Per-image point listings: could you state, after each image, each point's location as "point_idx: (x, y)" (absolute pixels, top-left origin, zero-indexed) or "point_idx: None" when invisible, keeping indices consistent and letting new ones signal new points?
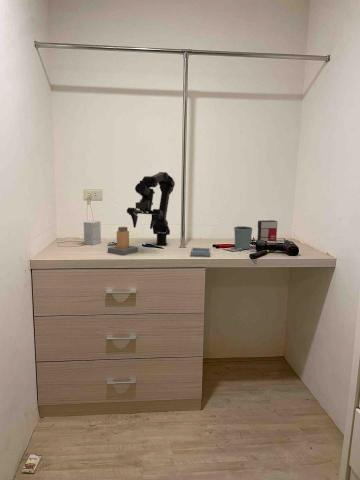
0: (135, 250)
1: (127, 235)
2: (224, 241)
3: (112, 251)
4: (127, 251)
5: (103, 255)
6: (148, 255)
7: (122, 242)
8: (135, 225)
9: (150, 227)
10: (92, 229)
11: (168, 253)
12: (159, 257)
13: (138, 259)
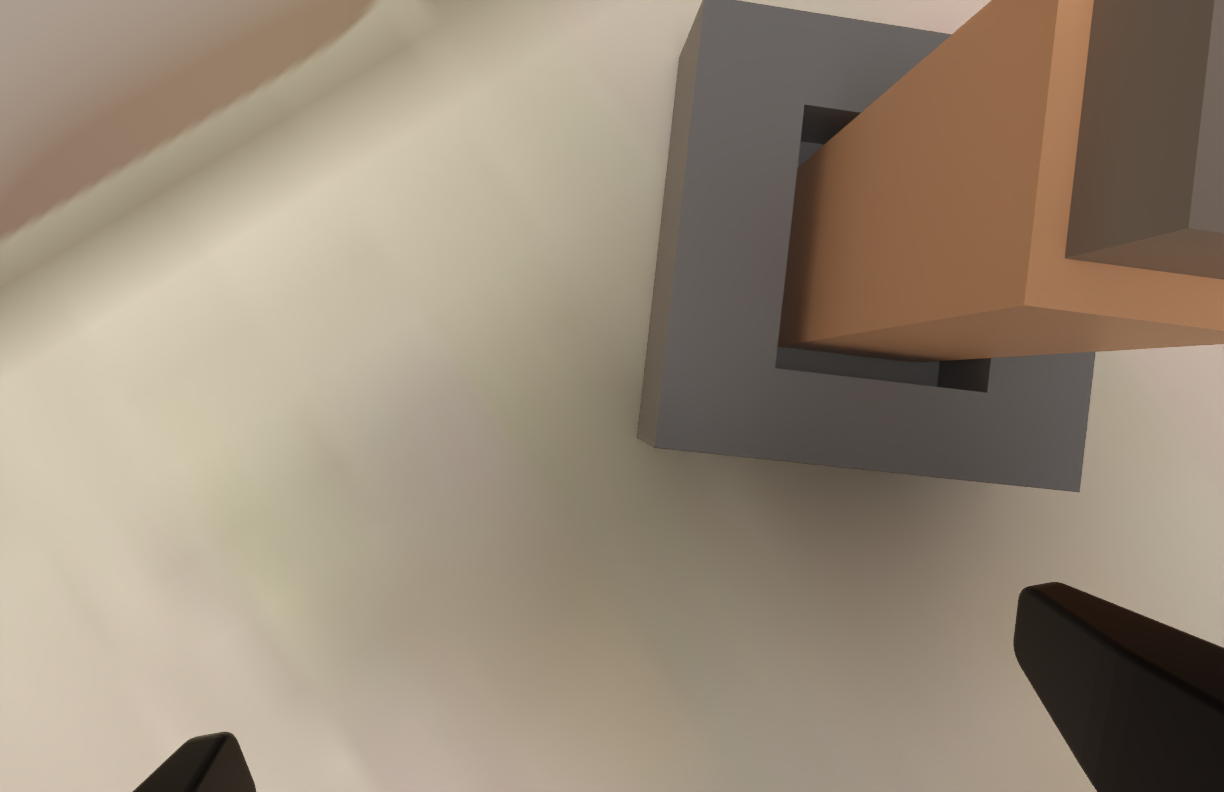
0: (654, 364)
1: (948, 246)
2: None
3: None
4: (683, 123)
5: None
6: (399, 422)
7: (889, 91)
8: (1087, 725)
9: (182, 764)
10: None
11: None
12: (135, 393)
13: (374, 61)
